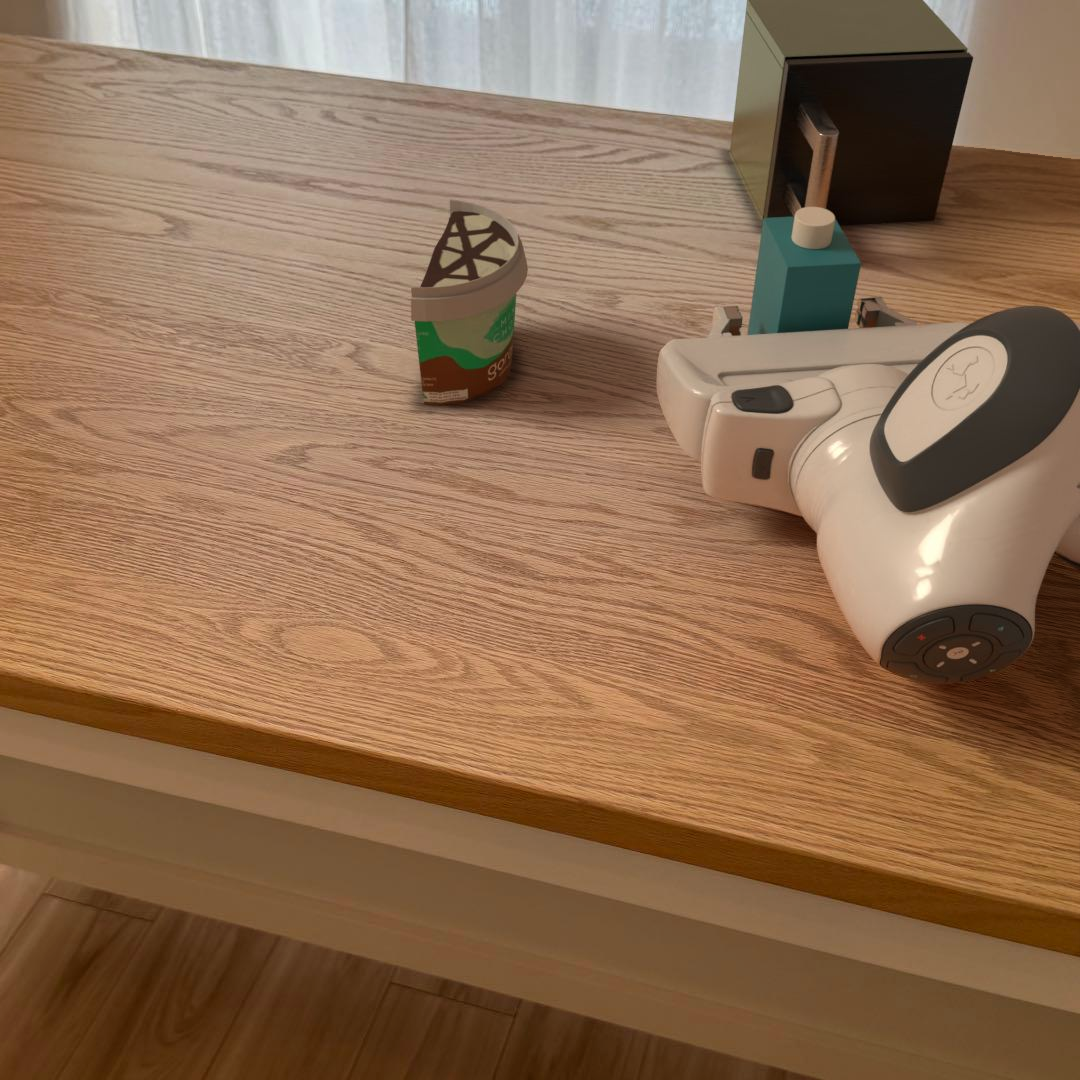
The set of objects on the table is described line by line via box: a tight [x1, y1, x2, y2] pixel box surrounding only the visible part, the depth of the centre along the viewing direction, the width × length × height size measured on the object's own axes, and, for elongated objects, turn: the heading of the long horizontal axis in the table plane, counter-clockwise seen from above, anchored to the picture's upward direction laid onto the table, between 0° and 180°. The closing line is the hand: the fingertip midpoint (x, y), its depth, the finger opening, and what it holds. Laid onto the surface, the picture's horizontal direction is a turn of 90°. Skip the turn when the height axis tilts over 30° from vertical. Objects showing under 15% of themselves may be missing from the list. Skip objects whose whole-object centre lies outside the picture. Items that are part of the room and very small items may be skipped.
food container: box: [410, 199, 529, 406], centre depth 82 cm, size 12×6×10 cm, turn 171°
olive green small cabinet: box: [729, 0, 969, 223], centre depth 101 cm, size 12×14×14 cm
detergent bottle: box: [746, 207, 862, 335], centre depth 79 cm, size 4×6×14 cm
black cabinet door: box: [764, 51, 974, 227], centre depth 94 cm, size 7×14×14 cm, turn 96°
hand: (795, 310), depth 80 cm, fingers open, 8 cm apart
